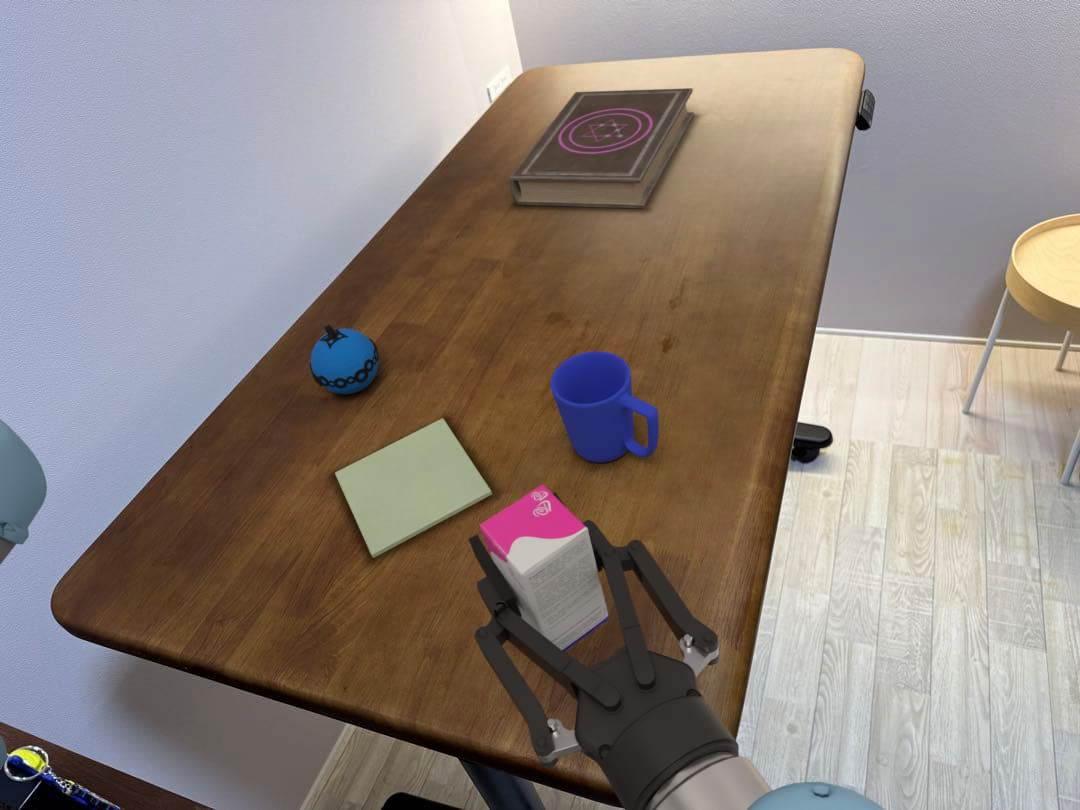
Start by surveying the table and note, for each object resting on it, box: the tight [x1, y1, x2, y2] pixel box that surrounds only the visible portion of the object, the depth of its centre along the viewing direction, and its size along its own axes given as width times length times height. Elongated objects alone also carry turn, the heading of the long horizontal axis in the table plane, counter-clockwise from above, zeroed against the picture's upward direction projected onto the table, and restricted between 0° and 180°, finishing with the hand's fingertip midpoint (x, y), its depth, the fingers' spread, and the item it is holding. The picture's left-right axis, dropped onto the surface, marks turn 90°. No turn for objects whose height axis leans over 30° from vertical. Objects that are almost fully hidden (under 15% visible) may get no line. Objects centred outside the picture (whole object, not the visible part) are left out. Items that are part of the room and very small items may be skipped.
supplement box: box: [479, 484, 610, 653], centre depth 57 cm, size 6×6×12 cm
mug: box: [550, 350, 660, 464], centre depth 81 cm, size 8×12×10 cm
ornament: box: [309, 324, 380, 395], centre depth 98 cm, size 9×9×10 cm
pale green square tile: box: [334, 417, 493, 559], centre depth 87 cm, size 14×14×1 cm
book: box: [508, 87, 695, 209], centre depth 131 cm, size 30×22×5 cm
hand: (516, 526), depth 61 cm, fingers closed on supplement box, 6 cm apart
